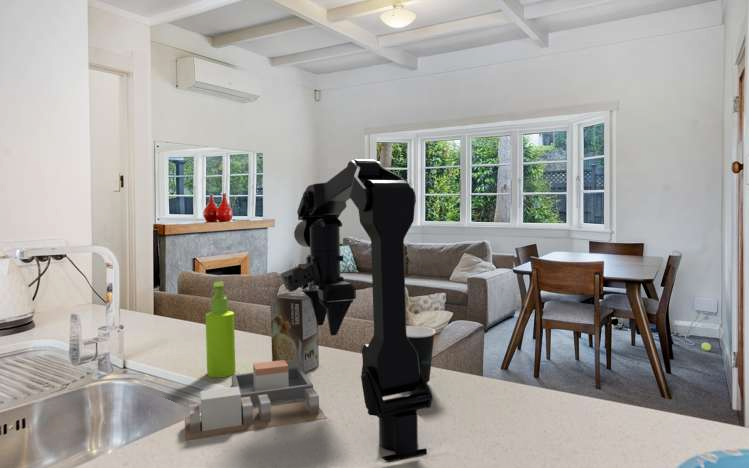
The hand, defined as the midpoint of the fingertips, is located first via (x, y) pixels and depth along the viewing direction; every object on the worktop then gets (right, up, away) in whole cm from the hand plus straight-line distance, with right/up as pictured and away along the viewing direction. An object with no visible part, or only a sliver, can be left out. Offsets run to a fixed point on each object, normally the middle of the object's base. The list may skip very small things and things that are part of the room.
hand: (326, 330), depth 101 cm
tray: (-10, -12, -2) cm, 16 cm away
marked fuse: (-10, -11, -2) cm, 15 cm away
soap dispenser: (-24, -12, +11) cm, 29 cm away
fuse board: (-10, -13, -15) cm, 22 cm away
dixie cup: (+18, -12, +3) cm, 21 cm away
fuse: (-16, -12, -17) cm, 26 cm away
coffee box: (-8, -11, +16) cm, 21 cm away
